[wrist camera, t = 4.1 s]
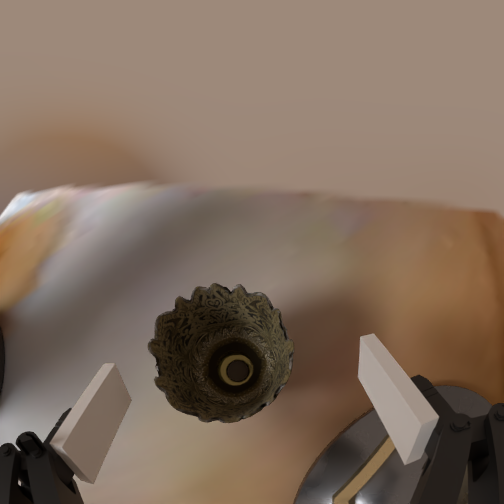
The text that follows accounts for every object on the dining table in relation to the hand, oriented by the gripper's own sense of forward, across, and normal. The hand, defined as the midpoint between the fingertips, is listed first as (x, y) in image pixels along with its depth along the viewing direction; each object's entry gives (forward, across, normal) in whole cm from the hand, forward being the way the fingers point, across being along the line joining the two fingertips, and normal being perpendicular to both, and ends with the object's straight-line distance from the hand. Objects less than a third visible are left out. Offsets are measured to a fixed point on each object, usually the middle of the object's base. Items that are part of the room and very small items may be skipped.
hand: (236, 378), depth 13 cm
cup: (+6, -1, -4) cm, 7 cm away
